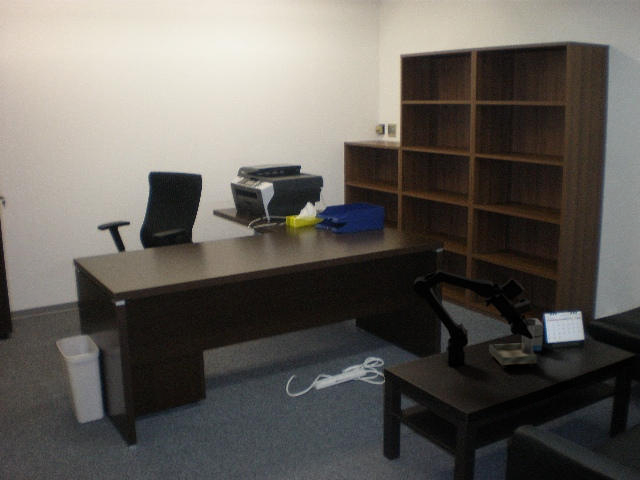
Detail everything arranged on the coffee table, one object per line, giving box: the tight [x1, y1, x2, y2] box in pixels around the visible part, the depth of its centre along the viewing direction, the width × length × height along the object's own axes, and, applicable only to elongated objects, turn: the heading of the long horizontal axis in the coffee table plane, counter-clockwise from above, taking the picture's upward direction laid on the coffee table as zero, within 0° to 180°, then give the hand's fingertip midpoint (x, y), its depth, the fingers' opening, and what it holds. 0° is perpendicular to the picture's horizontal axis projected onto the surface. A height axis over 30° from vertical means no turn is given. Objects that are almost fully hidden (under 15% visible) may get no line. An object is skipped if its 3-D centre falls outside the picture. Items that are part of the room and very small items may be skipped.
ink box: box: [529, 317, 544, 352], centre depth 277 cm, size 8×5×12 cm, turn 179°
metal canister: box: [521, 317, 536, 354], centre depth 254 cm, size 5×5×13 cm
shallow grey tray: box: [488, 342, 537, 369], centre depth 262 cm, size 14×14×5 cm
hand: (531, 336), depth 254 cm, fingers closed on metal canister, 4 cm apart
